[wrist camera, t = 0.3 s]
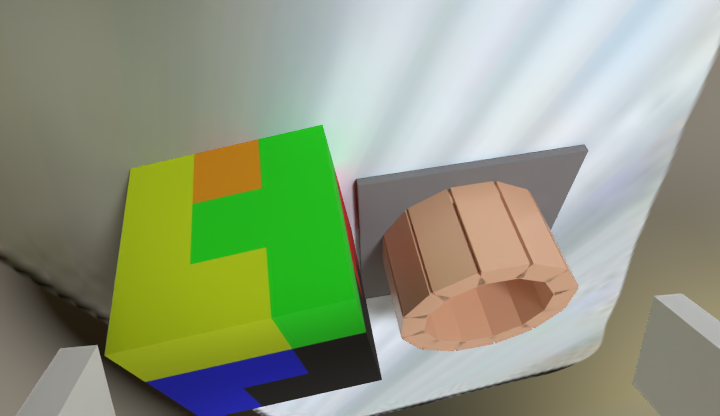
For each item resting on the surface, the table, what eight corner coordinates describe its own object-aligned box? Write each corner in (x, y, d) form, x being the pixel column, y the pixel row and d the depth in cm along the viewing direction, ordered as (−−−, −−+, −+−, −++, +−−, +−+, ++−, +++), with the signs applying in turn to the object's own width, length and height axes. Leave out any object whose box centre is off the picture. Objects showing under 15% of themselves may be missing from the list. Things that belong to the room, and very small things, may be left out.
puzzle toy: (205, 265, 34) (203, 419, 28) (130, 167, 26) (104, 355, 20) (352, 232, 33) (381, 379, 27) (322, 124, 26) (355, 298, 19)
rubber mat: (356, 179, 29) (357, 185, 29) (584, 144, 30) (588, 150, 30) (362, 293, 40) (363, 299, 40) (529, 264, 41) (531, 270, 41)
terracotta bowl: (383, 198, 30) (406, 284, 27) (557, 171, 31) (602, 251, 27) (381, 286, 39) (398, 361, 35) (517, 263, 40) (548, 333, 36)
